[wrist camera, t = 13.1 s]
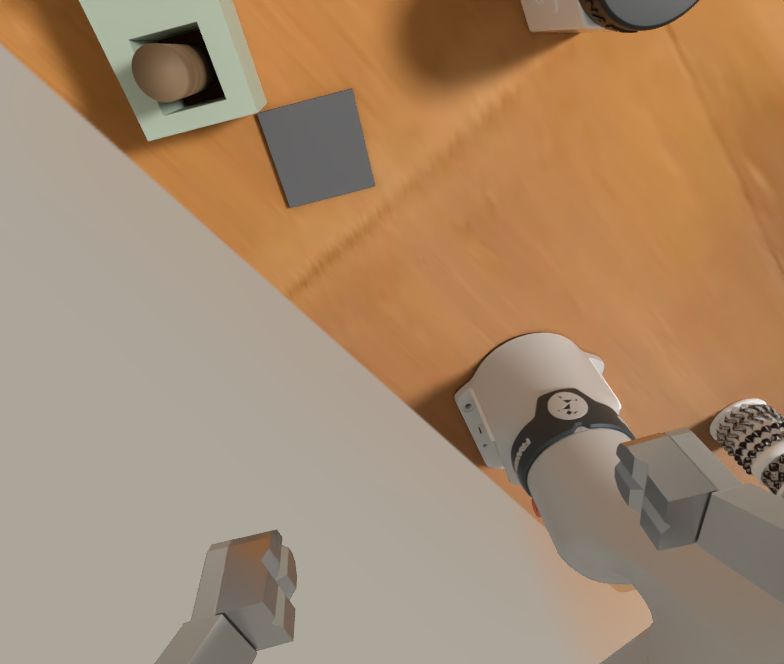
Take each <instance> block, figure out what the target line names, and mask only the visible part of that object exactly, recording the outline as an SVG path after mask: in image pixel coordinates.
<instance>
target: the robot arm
mask: <svg viewBox="0 0 784 664" xmlns="http://www.w3.org/2000/svg"><path fill="white" fill-rule="evenodd" d="M603 369H604V363H603V362H602V360H601V359H600V357H598V356H596V355H593V354H590V353H586V352H583V351H582V350H581V349H579V348H578V347H577V345H575V344H574V343H573V342H572V341H571V340H569V339H567V338H566V337H563V336H561V335H557V334H552V333H533V334H528V335H524V336H520V337H517V338H515V339H512V340H510V341H508V342H506V343H504V344H503V345H501V346H500V347H498V348H497V349H495V350H494V351H493V352H492V353H490V354H489V355H488V356H487V357H486V358H485V360H484V361H483V362H482V363H481V365H480V366H479V368H478V369H477V371H476V373H475V374H474V376H473V377H472V379H471V380H470V381H469V382H468V383H466V384H465V385H464V386H463V387H462V388H460V389H459V390H458V391H457V393H456V394H455V396H454V399H455V402H456V404H457V406H458V408H459V410H460V412H461V414H462V416H463V418H464V420H465V422H466V425H467V427H468V429H469V431H470V433H471V435H472V437H473V439H474V441H475V443H476V445H477V447H478V449H479V452H480V454H481V456H482V458H483V460H484V462H485V463H486V465H487V466H488V467H490V468H496V469H505V471H506V474H507V476H508V478H509V481H510V482H512V483H514V484H516V485H521V486H522V487H523V488H524V490H525V491H526V492H527V493H528V495H529V496H531V497H532V506H533V509H534V512H535V514H536V516H537V517H542V519H543V521H544V523H545V526H546V528H547V530H548V532H549V534H550V536H551V538H552V541H553V543H554V545H555V547H556V549H557V551H558V554H559V555H560V557H561V558H562V559H563V560H564V561H565V562H566V563H567V564H568V565H569V566H570V567H571V568H573V569H574V570H575V571H577V572H578V573H580V574H581V575H583V576H585V577H587V578H589V579H591V580H594V581H597V582H602V583H608V584H623V585H628V584H632V585H633V586H634V587H635V588H636V590H637V591H638V592H639V593H640V595H641V596H642V597H643V599H644V600H645V602H646V604H647V605H648V607H649V609H650V611H651V614H652V619H653V623H652V624H651V626H650V627H649V628H647V629H646V630H645V631H643V632H642V633H641V634H639V635H638V636H637V637H635V638H634V639H632V640H631V641H630V642H628V643H627V644H626V645H624V646H623V647H622V648H620V649H619V650H617V651H616V652H615V653H613V654H612V655H611V656H609V657H608V658H607V659H605V660H604V661H603V662H601V663H600V664H784V498H782V497H779V496H777V495H775V494H773V493H771V492H768V491H766V490H764V489H762V488H760V487H757V486H755V485H753V484H751V483H750V484H744V485H743V484H742V483H741V482H740V481H739V480H738V479H737V478H736V477H735V476H734V474H733V473H732V472H731V471H730V470H729V469H728V468H727V467H726V466H725V465H724V464H723V463H722V462H721V461H720V460H719V459H718V458H717V457H716V456H715V455H714V454H713V453H712V452H711V451H710V450H709V449H708V448H707V447H706V446H705V445H704V443H703V442H702V441H701V440H700V439H699V438H698V437H697V436H696V435H695V434H694V433H693V432H692V431H691V430H689V429H687V428H679V429H675V430H671V431H668V432H664V433H657V434H653V435H650V436H646V437H642V438H638V439H635V437H634V436H633V434H632V433H631V430H630V428H629V427H628V425H627V424H626V423H625V421H624V420H623V419H621V418H620V417H619V411H620V409H621V404H620V402H619V400H618V399H617V397H616V396H615V394H614V393H613V391H612V390H611V388H610V387H609V385H608V384H607V382H606V381H605V379H604V378H603V376H602V373H603ZM466 404H468V405H466ZM296 582H297V574H296V566H295V560H294V557H293V554H292V553H291V551H290V549H289V548H288V547H285V546H283V545H282V536H281V535H280V533H279V532H278V531H277V530H273V531H269V532H264V533H260V534H256V535H252V536H247V537H243V538H239V539H233V540H229V541H225V542H222V543H218V544H213V545H211V547H210V549H209V551H208V552H207V555H206V559H205V563H204V567H203V572H202V576H201V580H200V584H199V588H198V593H197V597H196V601H195V605H194V610H193V614H192V618H191V621H190V622H186V623H184V624H183V626H182V627H181V628H180V630H179V631H178V632H177V634H176V635H175V637H174V638H173V639H172V641H171V642H170V644H169V645H168V646H167V647H166V649H165V650H164V652H163V653H162V654H161V656H160V657H159V658H158V660H157V661H156V663H155V664H252V663H253V661H254V659H255V657H256V655H257V652H256V651H258V650H262V649H265V648H269V647H273V646H277V645H280V644H284V643H287V642H291V641H293V637H294V621H295V608H294V607H293V605H292V604H291V602H290V601H289V600H290V598H291V597H292V595H293V593H294V591H295V590H296Z"/></svg>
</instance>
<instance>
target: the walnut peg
mask: <svg viewBox="0 0 784 664" xmlns="http://www.w3.org/2000/svg"><path fill="white" fill-rule="evenodd" d="M132 73H133V77H134V79H135V81H136V83H137V85H138V86H139V88H140V89H141V90H142V91H143V92H144V93H145V94H146V95H147V96H149V97H150V98H152V99H154V100H156V101H159V102H173V101H176V100H179V99H182V98H184V97H187V96H190V95H193V94H196V93H199V92H202V91H205V90H208V89H210V88H212V87H214V86H215V85H216V84H217V83H218V81H219V79H218V76H217V74H216V71H215V68H214V66H213V63H212V60H211V58H210V55H209V53H208V50H207V48H206V47H204V46H201V45H193V44H160V43H149V44H145V45H143V46H141V47H140V48H138V49H137V50H136V52H135V53H134V55H133V58H132Z"/></svg>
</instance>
